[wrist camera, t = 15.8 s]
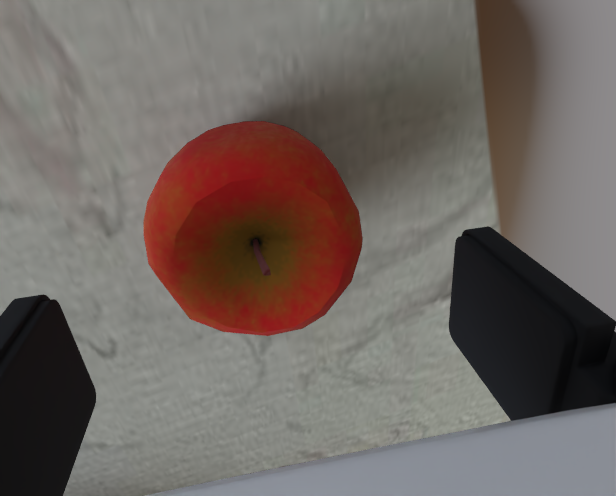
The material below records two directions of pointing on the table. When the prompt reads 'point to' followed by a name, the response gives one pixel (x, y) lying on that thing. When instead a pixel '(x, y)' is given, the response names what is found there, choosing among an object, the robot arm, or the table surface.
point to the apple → (252, 229)
